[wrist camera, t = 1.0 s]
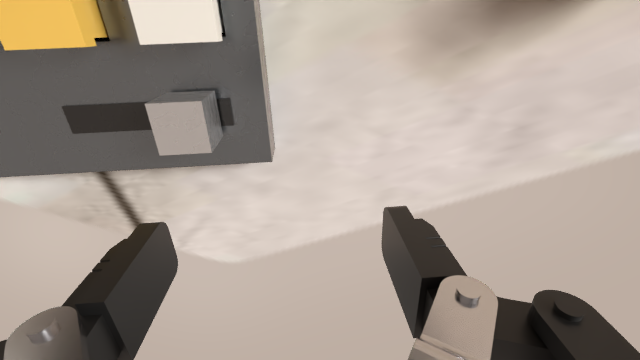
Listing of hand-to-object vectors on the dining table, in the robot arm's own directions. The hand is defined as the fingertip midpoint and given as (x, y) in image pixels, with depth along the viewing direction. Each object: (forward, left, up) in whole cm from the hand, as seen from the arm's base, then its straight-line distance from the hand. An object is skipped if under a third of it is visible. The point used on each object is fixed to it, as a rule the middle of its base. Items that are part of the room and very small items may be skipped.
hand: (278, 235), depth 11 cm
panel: (-4, -16, -22) cm, 28 cm away
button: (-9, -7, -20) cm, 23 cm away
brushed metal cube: (0, -8, -18) cm, 19 cm away
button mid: (-9, -16, -20) cm, 27 cm away
